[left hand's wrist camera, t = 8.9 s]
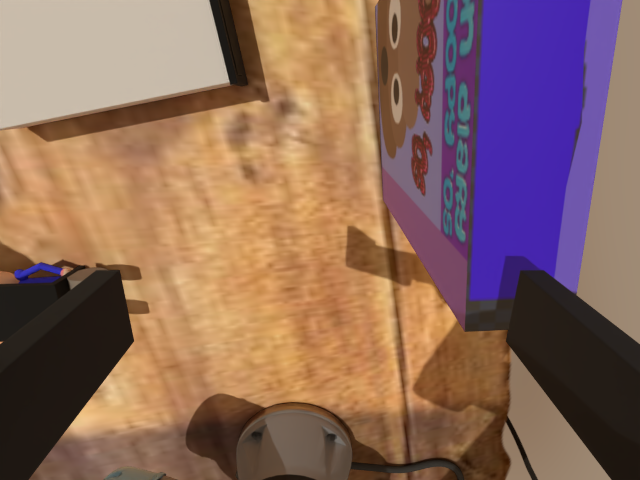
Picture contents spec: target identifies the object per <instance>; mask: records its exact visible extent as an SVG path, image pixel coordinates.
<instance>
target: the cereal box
mask: <svg viewBox="0 0 640 480" xmlns="http://www.w3.org/2000/svg"><path fill="white" fill-rule="evenodd" d="M621 5H622V0H379V1H378V3H377V5H376V6H375V16H376V40H377V64H378V89H379V113H380V138H381V162H382V187H383V200H384V202H385V203H386V205H387V207H388V208H389V210H390V212H391V213H392V215H393V216H394V218H395V220H396V221H397V223H398V224H399V226H400V228H401V229H402V231H403V233H404V234H405V236H406V237H407V239H408V241H409V242H410V244H411V245H412V247H413V249H414V250H415V252H416V254H417V255H418V257H419V258H420V260H421V262H422V263H423V265H424V267H425V268H426V270H427V271H428V273H429V275H430V276H431V278H432V279H433V281H434V283H435V284H436V286H437V288H438V289H439V291H440V292H441V294H442V296H443V297H444V299H445V301H446V302H447V304H448V305H449V307H450V309H451V310H452V312H453V313H454V315H455V317H456V318H457V320H458V322H459V323H460V325H461V326H462V328H463V330H464V331H465V332H468V331H492V330H508V328H509V324H510V319H511V314H512V309H513V304H514V299H515V294H516V289H517V284H518V279H519V274H520V270H544V271H545V272H547V273H548V274H549V275H551V276H552V277H553V278H555V279H556V280H557V281H558V282H560V283H561V284H562V285H564V286H565V287H566V288H567V289H569V290H570V291H571V292H573V293H574V294H575V295H576V293H577V287H578V281H579V274H580V268H581V261H582V255H583V249H584V242H585V236H586V229H587V223H588V217H589V210H590V204H591V197H592V191H593V185H594V178H595V172H596V165H597V159H598V153H599V146H600V140H601V133H602V127H603V121H604V114H605V108H606V101H607V95H608V89H609V82H610V76H611V69H612V63H613V57H614V50H615V44H616V37H617V31H618V24H619V18H620V12H621Z"/></svg>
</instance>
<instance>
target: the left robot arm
mask: <svg viewBox="0 0 640 480" xmlns="http://www.w3.org/2000/svg"><path fill="white" fill-rule="evenodd" d="M133 342H134V338H133V333H132V328H131V324H130V319H129V314H128V309H127V304H126V299H125V294H124V289H123V284H122V279H121V274H120V270H96V271H95V272H93V273H92V274H91V275H89V276H88V277H87V278H85V279H84V280H83V281H82V282H80V283H79V284H78V285H76V286H75V287H74V288H73V289H71V290H70V291H69V292H67V293H66V294H65V295H63V296H62V297H61V298H60V299H58V300H57V301H56V302H54V303H53V304H52V305H51V306H49V307H48V308H47V309H45V310H44V311H43V312H41V313H40V314H39V315H38V316H36V317H35V318H34V319H32V320H31V321H30V322H29V323H27V324H26V325H25V326H23V327H22V328H21V329H19V330H18V331H17V332H16V333H14V334H13V335H12V336H10V337H9V338H8V339H7V340H5V341H4V342H3V343H1V344H0V480H29V478H30V477H31V476H32V474H33V473H34V472H35V470H36V469H37V468H38V466H39V465H40V464H41V463H42V461H43V460H44V459H45V457H46V456H47V455H48V453H49V452H50V451H51V449H52V448H53V447H54V445H55V444H56V443H57V442H58V440H59V439H60V438H61V436H62V435H63V434H64V432H65V431H66V430H67V428H68V427H69V426H70V424H71V423H72V422H73V421H74V419H75V418H76V417H77V415H78V414H79V413H80V411H81V410H82V409H83V407H84V406H85V405H86V404H87V402H88V401H89V400H90V398H91V397H92V396H93V394H94V393H95V392H96V390H97V389H98V388H99V386H100V385H101V384H102V383H103V381H104V380H105V379H106V377H107V376H108V375H109V373H110V372H111V371H112V369H113V368H114V367H115V366H116V364H117V363H118V362H119V360H120V359H121V358H122V356H123V355H124V354H125V352H126V351H127V350H128V348H129V347H130V346H131V345H132V343H133ZM506 342H507V343H508V345H509V346H510V347H511V348H512V350H513V351H514V352H515V354H516V355H517V356H518V358H519V359H520V360H521V362H522V363H523V364H524V365H525V367H526V368H527V369H528V371H529V372H530V373H531V375H532V376H533V377H534V379H535V380H536V381H537V383H538V384H539V385H540V386H541V388H542V389H543V390H544V392H545V393H546V394H547V396H548V397H549V398H550V400H551V401H552V402H553V404H554V405H555V406H556V407H557V409H558V410H559V411H560V413H561V414H562V415H563V417H564V418H565V419H566V421H567V422H568V423H569V424H570V426H571V427H572V428H573V430H574V431H575V432H576V434H577V435H578V436H579V438H580V439H581V440H582V441H583V443H584V444H585V445H586V447H587V448H588V449H589V451H590V452H591V453H592V455H593V456H594V457H595V459H596V460H597V461H598V463H599V464H600V465H601V466H602V468H603V469H604V470H605V472H606V473H607V474H608V476H609V477H610V478H611V480H640V344H639V343H637V342H636V341H635V340H633V339H632V338H631V337H630V336H628V335H627V334H626V333H624V332H623V331H622V330H620V329H619V328H618V327H617V326H615V325H614V324H613V323H611V322H610V321H609V320H608V319H606V318H605V317H604V316H602V315H601V314H600V313H598V312H597V311H596V310H595V309H593V308H592V307H591V306H589V305H588V304H587V303H586V302H584V301H583V300H582V299H580V298H579V297H578V296H577V295H575V294H574V293H573V292H571V291H570V290H569V289H567V288H566V287H565V286H564V285H562V284H561V283H560V282H558V281H557V280H556V279H555V278H553V277H552V276H551V275H549V274H548V273H547V272H545V271H544V270H520V274H519V279H518V284H517V289H516V294H515V299H514V304H513V309H512V314H511V319H510V324H509V328H508V333H507V338H506ZM506 424H507V425H508V427H509V429H510V431H511V433H512V435H513V438H514V440H515V442H516V444H517V447H518V449H519V451H520V454H521V456H522V459H523V461H524V464H525V466H526V469H527V471H528V473H529V475H530V477H531V479H532V480H538V479H537V476H536V474H535V473H534V471H533V469H532V467H531V464H530V462H529V459H528V457H527V454H526V452H525V450H524V447H523V445H522V443H521V441H520V439H519V437H518V435H517V432H516V430H515V429H514V427H513V425H512V423H511V421H510V419H509V417H508V416H507V420H506ZM236 462H237V472H236V477H237V479H238V480H347V479H348V476H349V472H350V469H357V470H367V471H378V472H387V473H407V472H412V471H417V470H421V469H425V468H429V467H437V466H440V467H446V468H449V469H451V470H453V471H454V472H455V473H456V475H457V478H458V480H464V477H463V474H462V472H461V471H460V469H459V468H458V467H457V466H456V465H455V464H453V463H451V462H449V461H445V460H429V461H424V462H420V463H416V464H412V465H407V466H385V465H376V464H366V463H356V462H352V447H351V439H350V436H349V433H348V431H347V429H346V427H345V426H344V425H343V423H342V422H341V421H340V420H339V419H338V418H337V417H335V416H334V415H333V414H331V413H329V412H328V411H326V410H324V409H321V408H319V407H316V406H313V405H308V404H301V403H286V404H279V405H275V406H272V407H269V408H266V409H264V410H262V411H260V412H258V413H257V414H255V415H254V416H253V417H252V418H251V419H250V420H249V421H248V422H247V423H246V424H245V426H244V427H243V429H242V431H241V433H240V437H239V441H238V445H237V450H236ZM104 480H177V479H174V478H171V477H168V476H166V474H165V473H163V472H160V473H155V472H151V471H147V470H143V469H139V468H135V467H130V466H127V467H121V468H119V469H117V470H115V471H113V472H112V473H110V474H109V475H108V476H107V477H106V478H105V479H104Z"/></svg>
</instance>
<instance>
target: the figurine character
mask: <svg viewBox="0 0 640 480" xmlns="http://www.w3.org/2000/svg"><path fill="white" fill-rule="evenodd" d="M41 269H42V270H45V271H49V272H52V273H56V274H60V275H61V276H54V277H40V278H28V276H29V275H31V274H33V273H35V272H37V271H39V270H41ZM96 270H107V269H105V268H88V269H85V266H78V267H76V268H75V269H73V270H70V269H68V268H65V269H63V268H59V267H56V266H52V265H49V264H45V263H42V262H41V263H39V264H37V265H35V266H32V267H30V268H28V269H26V270H21V269H18V270H16V271H15V273H14V274H13V273H10V272H5V271H0V342H3V341H5V340H7V339H8V338H9V337H10V336H12V335H13V334H14V333H16V332H17V331H18V330H19V329H21V328H22V327H23V326H25V325H26V324H27V323H29V322H30V321H31V320H32V319H34V318H35V317H36V316H38V315H39V314H40V313H41V312H43V311H44V310H45V309H47V308H48V307H49V306H51V305H52V304H53V303H54V302H56V301H57V300H58V299H60V298H61V297H62V296H63V295H65V294H66V293H67V292H69V291H70V290H71V289H73V288H74V287H75V286H76V285H78V284H79V283H80V282H82V281H83V280H84V279H85V278H87V277H88V276H89V275H91V274H92V273H93V272H95V271H96Z"/></svg>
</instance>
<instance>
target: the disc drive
mask: <svg viewBox="0 0 640 480" xmlns="http://www.w3.org/2000/svg"><path fill="white" fill-rule="evenodd" d="M231 85H236V86H245V85H248V82H247V77H246V73H245V69H244V64H243V60H242V56H241V51H240V47H239V43H238V39H237V34H236V30H235V26H234V21H233V17H232V13H231V9H230V4H229V0H0V130H7V129H16V128H24V127H29V126H34V125H39V124H44V123H49V122H54V121H58V120H63V119H68V118H73V117H78V116H83V115H88V114H93V113H98V112H103V111H108V110H113V109H118V108H123V107H128V106H133V105H137V104H142V103H147V102H152V101H157V100H162V99H167V98H172V97H177V96H182V95H187V94H192V93H197V92H202V91H207V90H212V89H216V88H221V87H226V86H231Z"/></svg>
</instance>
